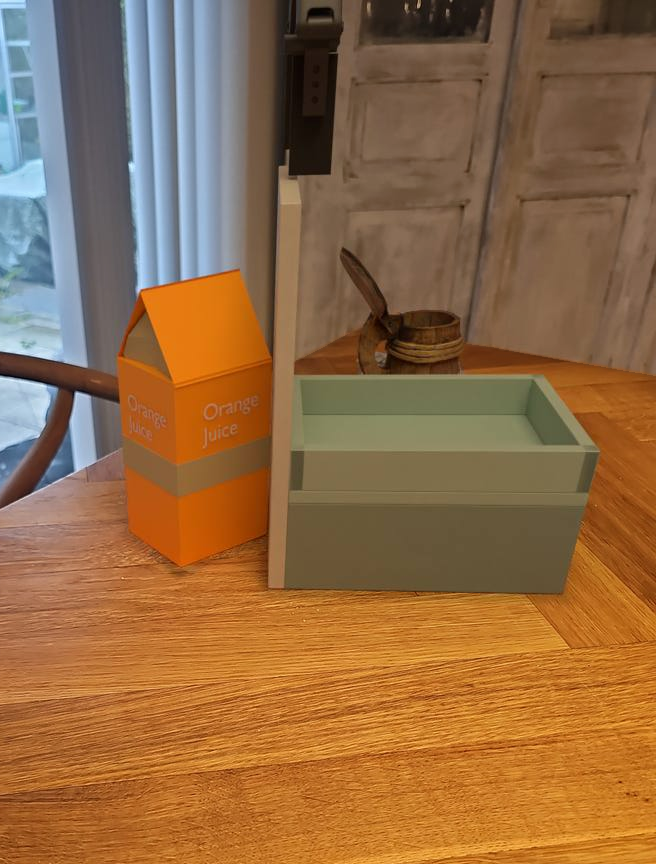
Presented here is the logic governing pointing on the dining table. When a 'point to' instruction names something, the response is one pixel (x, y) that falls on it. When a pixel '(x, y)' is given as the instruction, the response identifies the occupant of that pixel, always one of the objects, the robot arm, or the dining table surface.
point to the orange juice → (195, 417)
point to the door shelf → (416, 470)
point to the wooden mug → (403, 332)
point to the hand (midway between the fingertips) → (304, 161)
